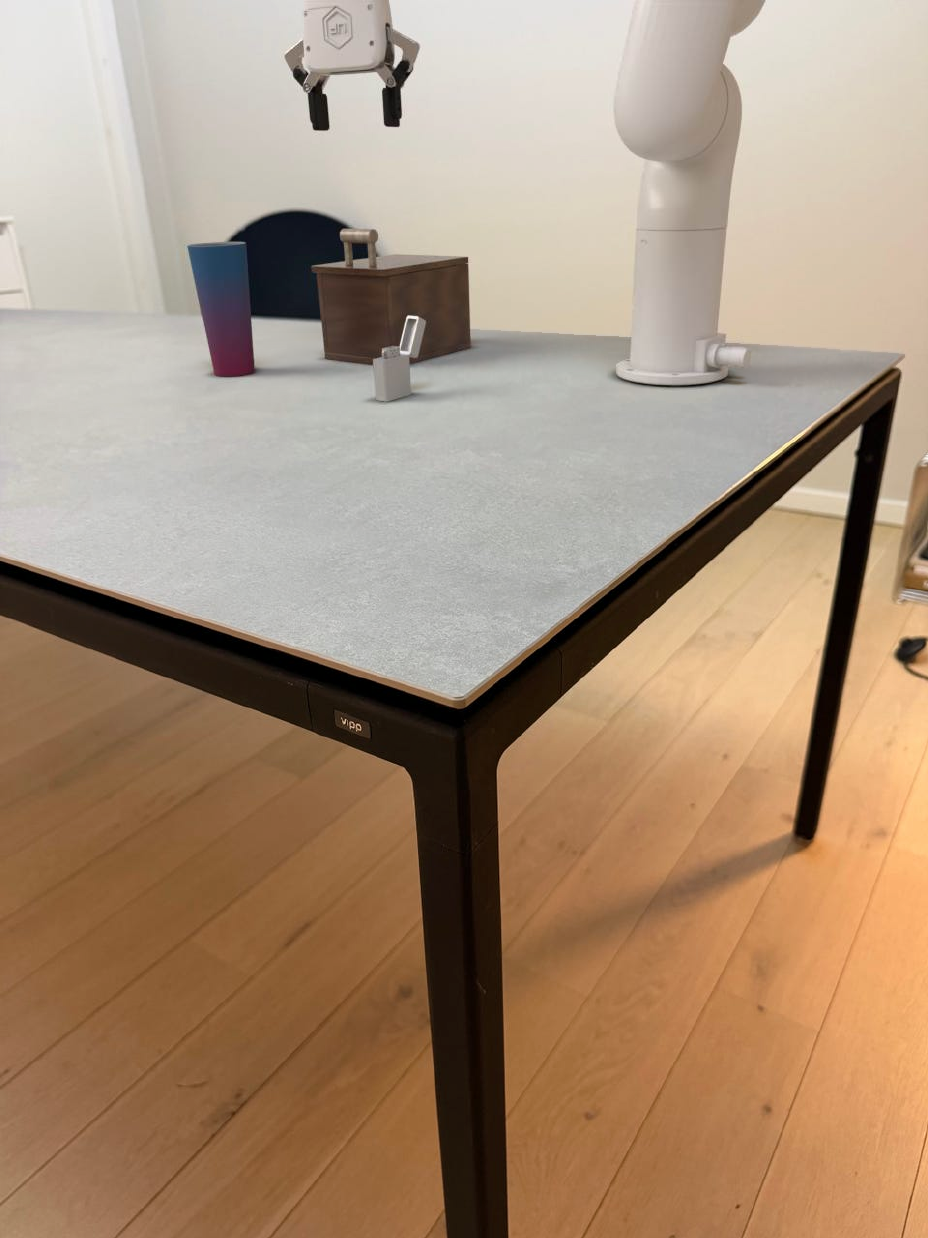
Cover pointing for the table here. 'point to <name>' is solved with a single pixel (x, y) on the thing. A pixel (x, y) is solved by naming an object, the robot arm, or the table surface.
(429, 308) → the brown wooden box
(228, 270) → the cup
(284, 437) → the table surface
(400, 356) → the lighter
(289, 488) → the table surface
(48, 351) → the table surface
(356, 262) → the lid
